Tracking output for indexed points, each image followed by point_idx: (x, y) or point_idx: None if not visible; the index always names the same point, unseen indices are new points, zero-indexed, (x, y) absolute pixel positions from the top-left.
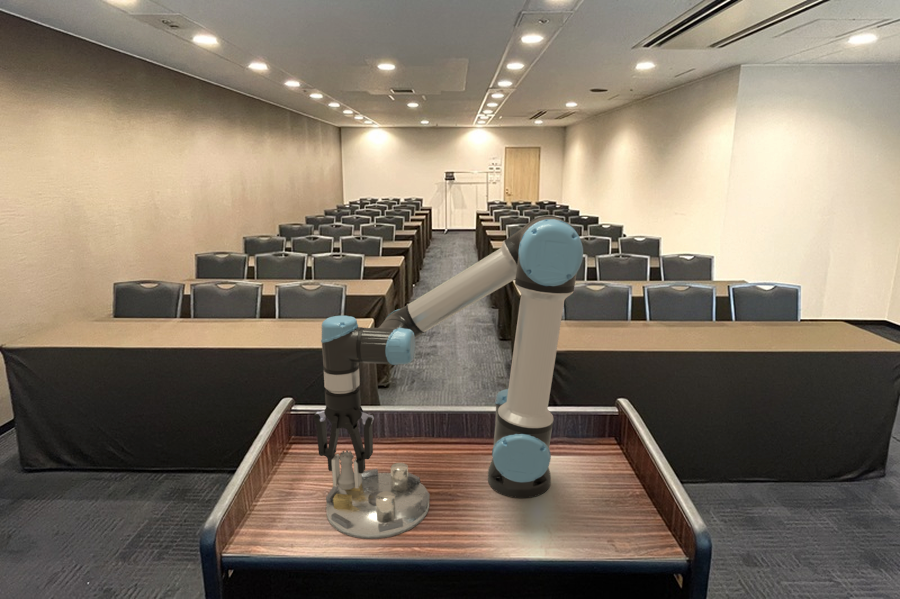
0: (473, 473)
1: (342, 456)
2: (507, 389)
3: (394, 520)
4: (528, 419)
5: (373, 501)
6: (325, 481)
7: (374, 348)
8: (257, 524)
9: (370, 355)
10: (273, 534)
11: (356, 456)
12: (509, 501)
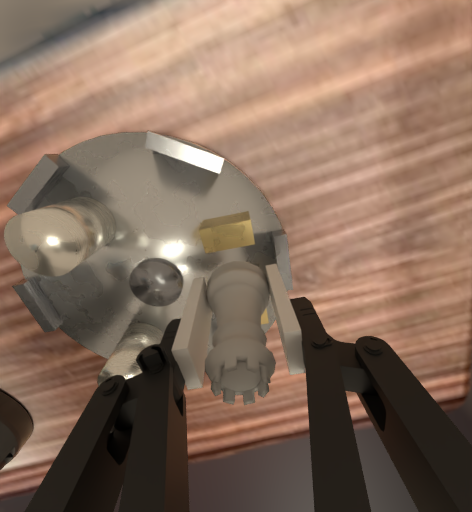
0: (59, 410)
1: (247, 360)
2: None
3: (31, 201)
4: None
5: (154, 264)
6: (334, 311)
7: None
8: (450, 80)
9: None
10: (377, 49)
11: (167, 377)
12: None
